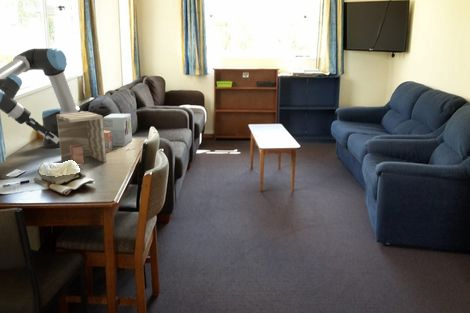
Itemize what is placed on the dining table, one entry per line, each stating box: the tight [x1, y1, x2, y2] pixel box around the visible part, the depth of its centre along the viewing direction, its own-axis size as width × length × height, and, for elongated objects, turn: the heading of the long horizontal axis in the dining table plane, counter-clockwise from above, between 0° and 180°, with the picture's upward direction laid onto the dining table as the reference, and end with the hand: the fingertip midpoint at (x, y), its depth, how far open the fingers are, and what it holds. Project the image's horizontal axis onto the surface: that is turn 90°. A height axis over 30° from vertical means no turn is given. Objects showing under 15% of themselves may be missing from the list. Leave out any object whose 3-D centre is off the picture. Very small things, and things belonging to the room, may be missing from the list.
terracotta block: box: [70, 144, 85, 165], centre depth 248 cm, size 5×5×10 cm
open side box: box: [57, 111, 107, 163], centre depth 252 cm, size 21×17×26 cm
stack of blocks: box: [104, 130, 113, 153], centre depth 276 cm, size 21×6×12 cm, turn 87°
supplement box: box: [103, 113, 133, 147], centre depth 297 cm, size 17×13×18 cm
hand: (53, 139), depth 239 cm, fingers open, 13 cm apart
